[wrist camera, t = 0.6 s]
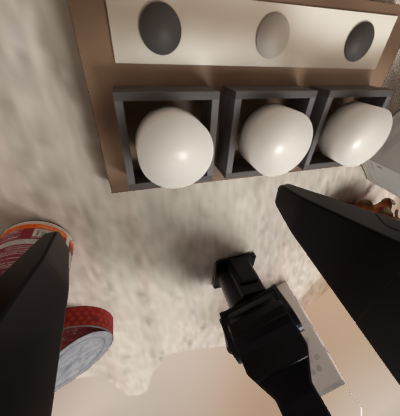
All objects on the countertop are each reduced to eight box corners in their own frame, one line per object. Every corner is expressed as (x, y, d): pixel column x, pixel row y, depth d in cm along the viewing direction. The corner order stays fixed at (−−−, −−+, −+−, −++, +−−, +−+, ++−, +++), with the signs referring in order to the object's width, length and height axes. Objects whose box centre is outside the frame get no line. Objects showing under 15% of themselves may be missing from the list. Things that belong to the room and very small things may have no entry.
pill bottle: (-15, 229, 20) (-111, 371, 12) (55, 210, 21) (15, 328, 13) (27, 269, 24) (-21, 397, 16) (85, 251, 25) (69, 363, 16)
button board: (331, 158, 28) (362, 175, 24) (112, 182, 21) (111, 209, 18) (394, 9, 20) (454, 3, 16) (65, -30, 13) (46, -56, 9)
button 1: (351, 154, 23) (372, 164, 21) (311, 158, 21) (329, 169, 19) (377, 100, 20) (404, 107, 18) (331, 101, 18) (355, 108, 16)
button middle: (284, 161, 21) (300, 173, 19) (234, 166, 19) (247, 179, 17) (301, 102, 18) (322, 110, 16) (243, 103, 16) (260, 112, 14)
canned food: (69, 278, 33) (79, 316, 25) (119, 305, 39) (141, 343, 31) (5, 348, 30) (-7, 417, 22) (69, 366, 35) (79, 427, 28)
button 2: (201, 169, 18) (210, 184, 17) (139, 176, 17) (142, 192, 15) (204, 104, 15) (216, 113, 14) (130, 106, 14) (132, 116, 12)
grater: (240, 308, 45) (305, 447, 30) (285, 280, 44) (377, 411, 28) (258, 321, 52) (318, 440, 36) (297, 298, 50) (377, 411, 35)
